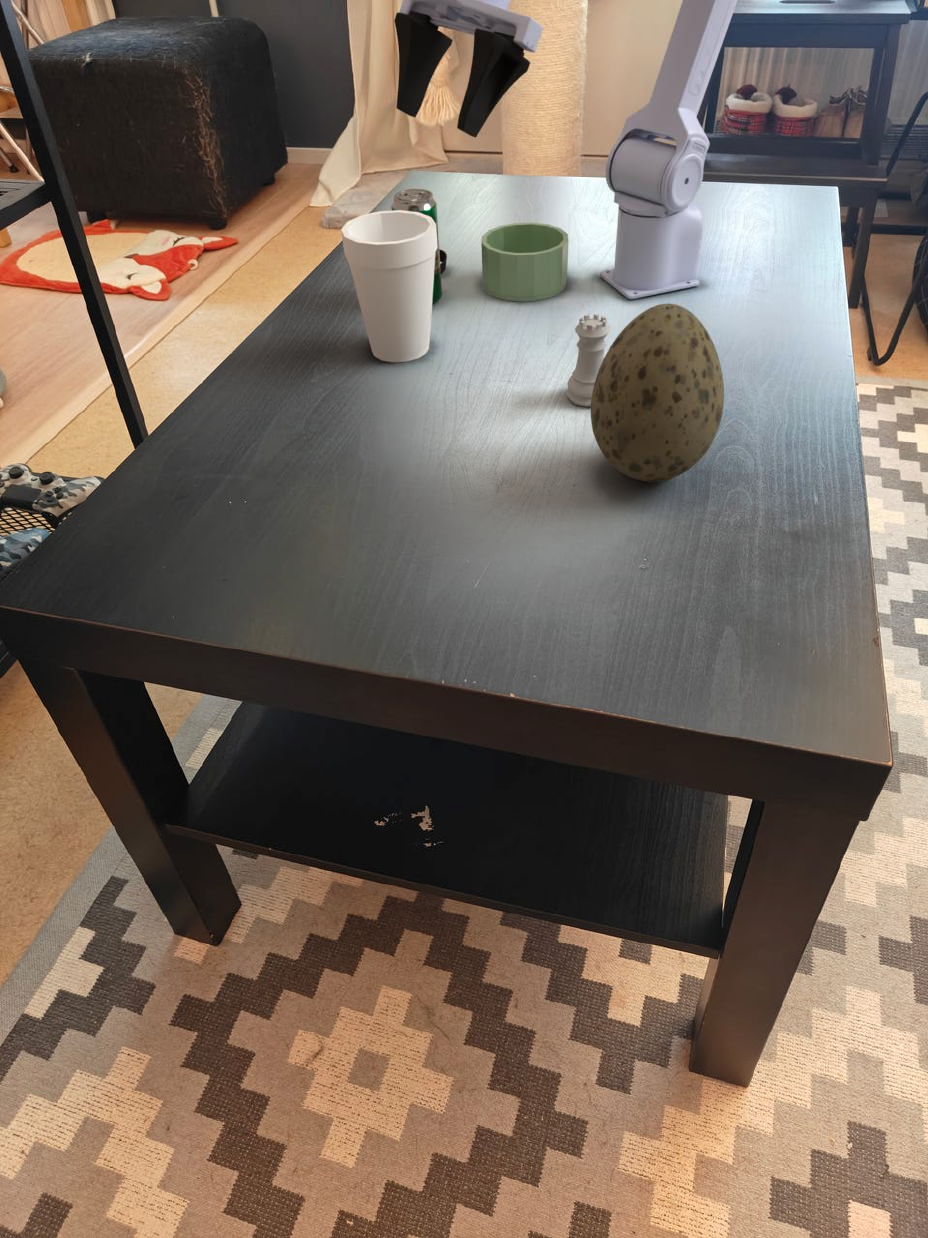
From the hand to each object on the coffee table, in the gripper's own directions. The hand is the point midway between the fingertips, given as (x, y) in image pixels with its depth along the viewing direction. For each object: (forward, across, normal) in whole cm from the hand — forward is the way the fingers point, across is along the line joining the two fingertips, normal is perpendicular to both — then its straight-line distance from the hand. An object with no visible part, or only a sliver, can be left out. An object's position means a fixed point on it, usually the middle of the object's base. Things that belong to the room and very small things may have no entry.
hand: (435, 122), depth 79 cm
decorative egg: (+20, +29, +8) cm, 36 cm away
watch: (+14, -18, +25) cm, 34 cm away
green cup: (+10, -6, +30) cm, 32 cm away
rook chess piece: (+17, +17, +15) cm, 28 cm away
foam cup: (+21, -5, +11) cm, 24 cm away
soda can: (+16, -13, +20) cm, 29 cm away
